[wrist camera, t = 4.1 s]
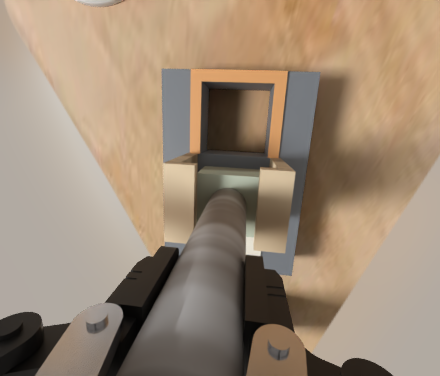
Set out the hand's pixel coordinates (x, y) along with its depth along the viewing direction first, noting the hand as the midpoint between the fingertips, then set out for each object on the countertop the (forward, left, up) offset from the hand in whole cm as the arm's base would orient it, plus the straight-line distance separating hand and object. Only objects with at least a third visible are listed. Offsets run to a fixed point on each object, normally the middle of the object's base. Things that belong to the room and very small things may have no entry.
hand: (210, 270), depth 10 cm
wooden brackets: (0, 0, -14) cm, 14 cm away
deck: (-1, 0, -18) cm, 18 cm away
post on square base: (0, 0, -12) cm, 12 cm away
